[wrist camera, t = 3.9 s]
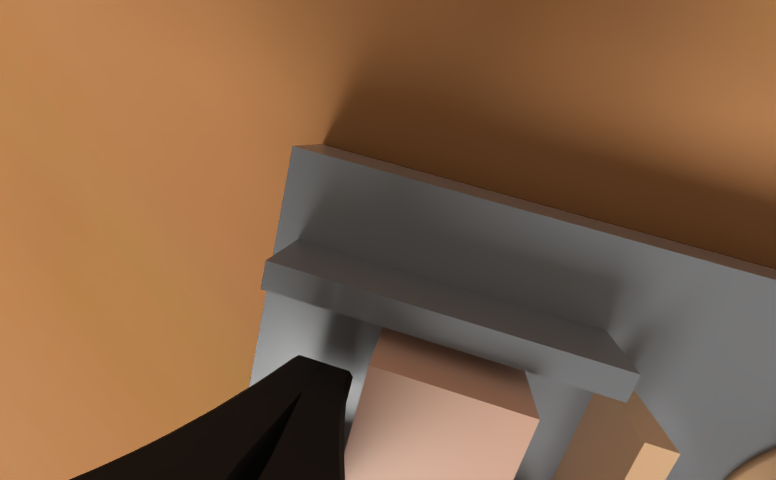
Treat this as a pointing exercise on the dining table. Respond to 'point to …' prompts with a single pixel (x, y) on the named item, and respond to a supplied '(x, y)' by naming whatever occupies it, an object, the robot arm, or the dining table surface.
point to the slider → (438, 415)
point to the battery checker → (531, 316)
